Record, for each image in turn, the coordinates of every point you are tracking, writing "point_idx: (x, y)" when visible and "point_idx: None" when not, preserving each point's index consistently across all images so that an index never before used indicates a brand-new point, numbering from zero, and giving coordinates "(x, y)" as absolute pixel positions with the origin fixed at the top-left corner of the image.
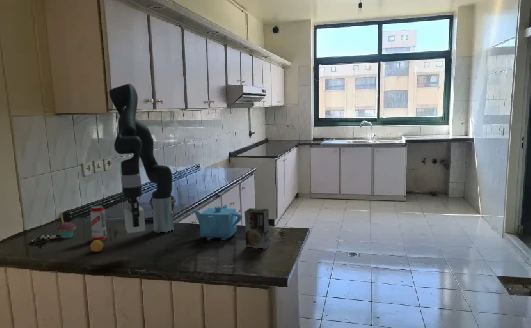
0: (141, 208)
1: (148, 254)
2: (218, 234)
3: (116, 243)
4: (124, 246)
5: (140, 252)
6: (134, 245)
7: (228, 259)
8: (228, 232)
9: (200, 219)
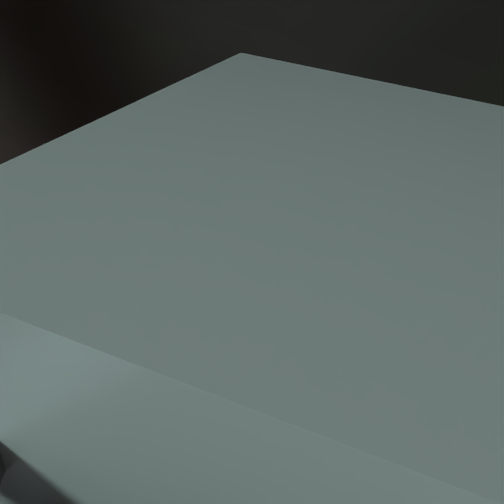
0: (314, 474)
1: (481, 14)
2: None
3: (16, 130)
4: (108, 111)
5: (350, 61)
6: (119, 31)
7: None
8: None
9: None
